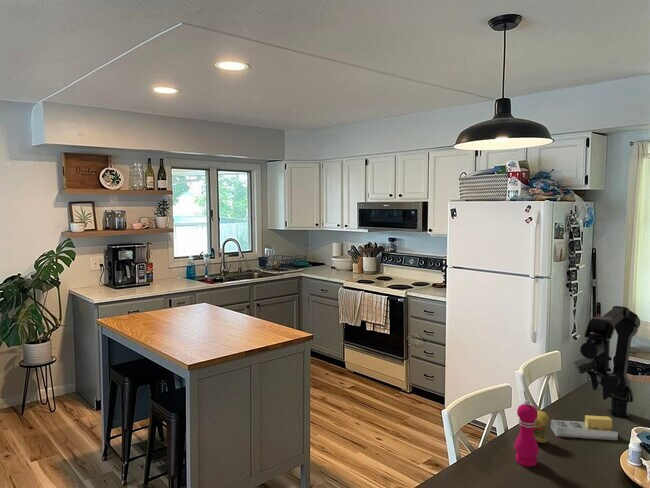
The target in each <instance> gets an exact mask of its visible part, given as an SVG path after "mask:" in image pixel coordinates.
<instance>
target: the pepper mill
mask: <svg viewBox="0 0 650 488" xmlns="http://www.w3.org/2000/svg"><path fill="white" fill-rule="evenodd" d="M516 411H517V417H518V425H519V434H518V436H517V437H516V439H515V441H514V445H513V447H514V451H515V452H516V453H515V461H516V463H518V464H519V465H521V466H524V467H535V466H536V465H538V454H539V453H540V450H539V445H538V442H537V441H536V439H535V437H534V427H535V426H536V424H535V423H536V421H535V419H536V418H537V417H538V413H537V411H538V410H537V408H536V407H535V406H534V405H532V403H531V401H530V400H529V399H526V400H525V401H524V403H523V404H521V405H519V406H518V407H517V409H516Z"/></svg>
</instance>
